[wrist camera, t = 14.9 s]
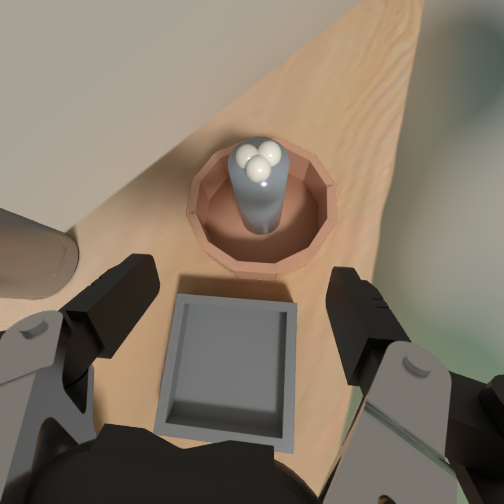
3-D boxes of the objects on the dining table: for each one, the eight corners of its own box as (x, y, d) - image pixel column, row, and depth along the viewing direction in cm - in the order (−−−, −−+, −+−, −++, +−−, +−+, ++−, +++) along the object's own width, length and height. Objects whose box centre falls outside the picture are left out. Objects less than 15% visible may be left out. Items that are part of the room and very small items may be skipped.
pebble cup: (239, 233, 26) (220, 177, 15) (243, 197, 28) (229, 123, 17) (279, 236, 26) (289, 181, 15) (282, 199, 27) (293, 124, 16)
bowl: (192, 274, 26) (176, 266, 21) (210, 164, 30) (199, 137, 26) (324, 284, 25) (338, 278, 20) (323, 168, 29) (335, 139, 24)
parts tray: (165, 420, 22) (152, 434, 20) (185, 295, 26) (177, 293, 23) (290, 437, 21) (293, 454, 19) (294, 303, 24) (297, 303, 22)
